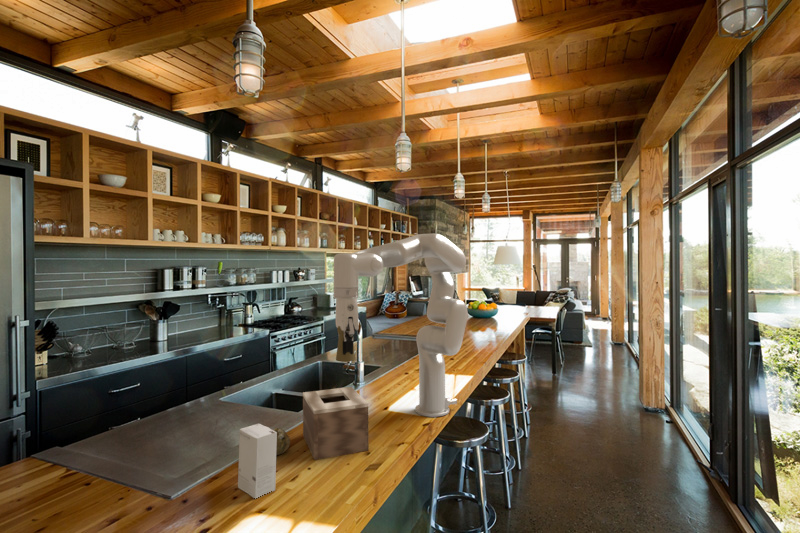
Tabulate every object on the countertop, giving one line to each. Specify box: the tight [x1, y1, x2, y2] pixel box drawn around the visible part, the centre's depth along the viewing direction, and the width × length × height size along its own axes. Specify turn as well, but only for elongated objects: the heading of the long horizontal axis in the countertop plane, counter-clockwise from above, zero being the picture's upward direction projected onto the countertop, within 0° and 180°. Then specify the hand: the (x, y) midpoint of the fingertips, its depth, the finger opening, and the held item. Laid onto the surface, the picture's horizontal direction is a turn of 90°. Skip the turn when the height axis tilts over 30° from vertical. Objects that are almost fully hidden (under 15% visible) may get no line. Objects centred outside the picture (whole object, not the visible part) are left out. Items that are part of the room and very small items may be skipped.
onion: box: [272, 427, 291, 456], centre depth 128 cm, size 8×8×8 cm
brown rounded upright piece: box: [335, 326, 356, 363], centre depth 135 cm, size 6×6×11 cm
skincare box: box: [237, 423, 277, 500], centre depth 108 cm, size 8×6×15 cm
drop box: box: [302, 386, 370, 461], centre depth 134 cm, size 16×18×14 cm
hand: (345, 352), depth 135 cm, fingers closed on brown rounded upright piece, 4 cm apart
